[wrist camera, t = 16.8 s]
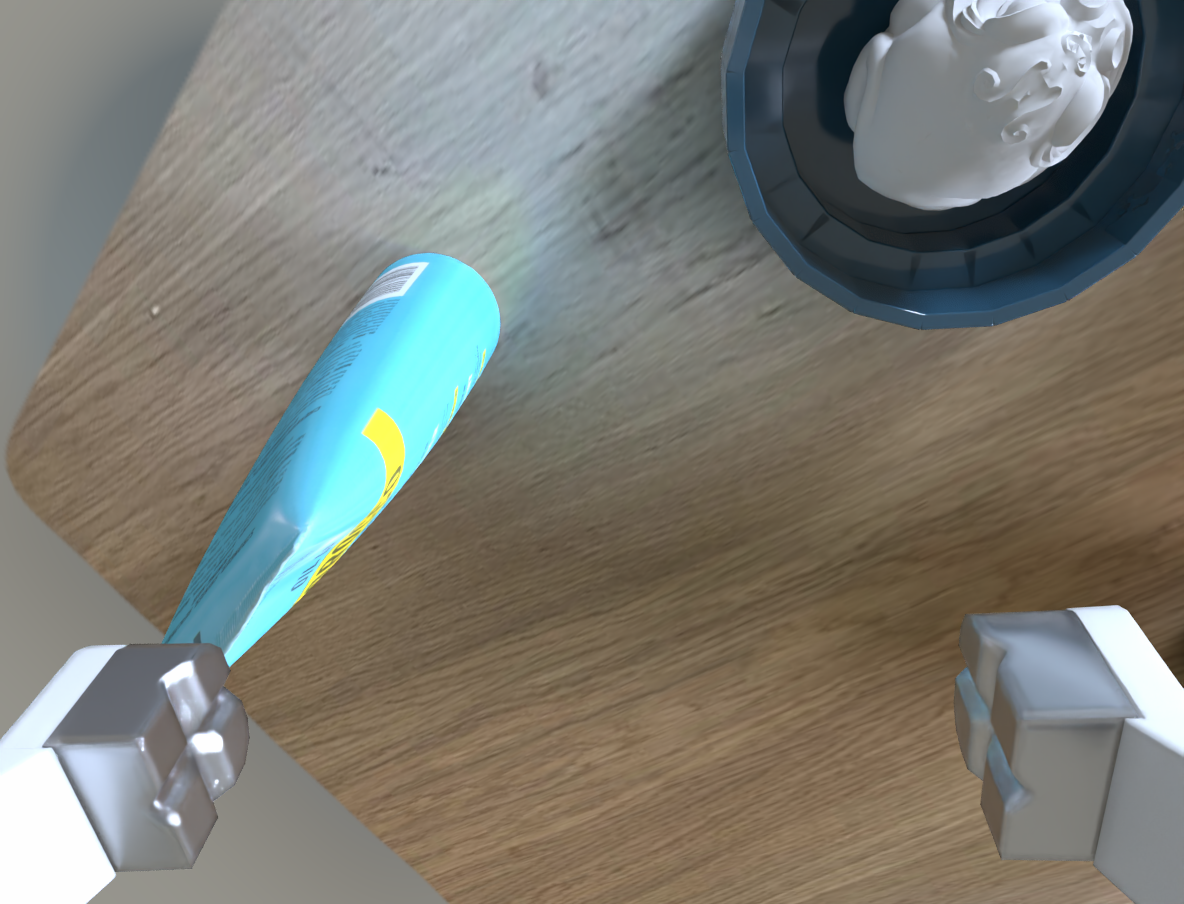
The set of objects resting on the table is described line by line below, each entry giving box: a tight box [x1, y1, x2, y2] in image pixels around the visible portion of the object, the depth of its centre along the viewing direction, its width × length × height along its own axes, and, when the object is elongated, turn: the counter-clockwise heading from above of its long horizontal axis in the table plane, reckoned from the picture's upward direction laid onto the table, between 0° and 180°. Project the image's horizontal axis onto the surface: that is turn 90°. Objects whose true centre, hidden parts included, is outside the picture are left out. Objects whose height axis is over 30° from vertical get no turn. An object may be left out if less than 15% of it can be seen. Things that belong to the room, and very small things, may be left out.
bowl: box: [721, 0, 1184, 330], centre depth 27 cm, size 13×13×5 cm
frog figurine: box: [844, 0, 1133, 211], centre depth 25 cm, size 6×7×7 cm
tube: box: [161, 253, 500, 667], centre depth 26 cm, size 7×5×19 cm, turn 147°
